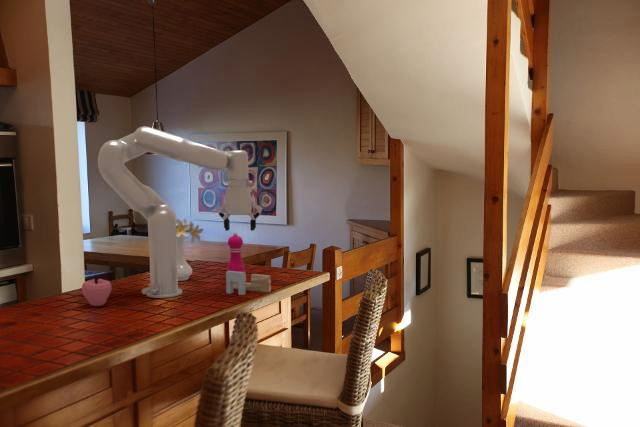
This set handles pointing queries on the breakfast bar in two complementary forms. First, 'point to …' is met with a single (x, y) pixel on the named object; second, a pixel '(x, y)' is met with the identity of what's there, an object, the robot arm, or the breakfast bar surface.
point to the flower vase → (181, 231)
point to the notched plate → (235, 277)
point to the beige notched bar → (257, 283)
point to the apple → (96, 291)
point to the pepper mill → (235, 253)
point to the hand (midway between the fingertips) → (240, 230)
